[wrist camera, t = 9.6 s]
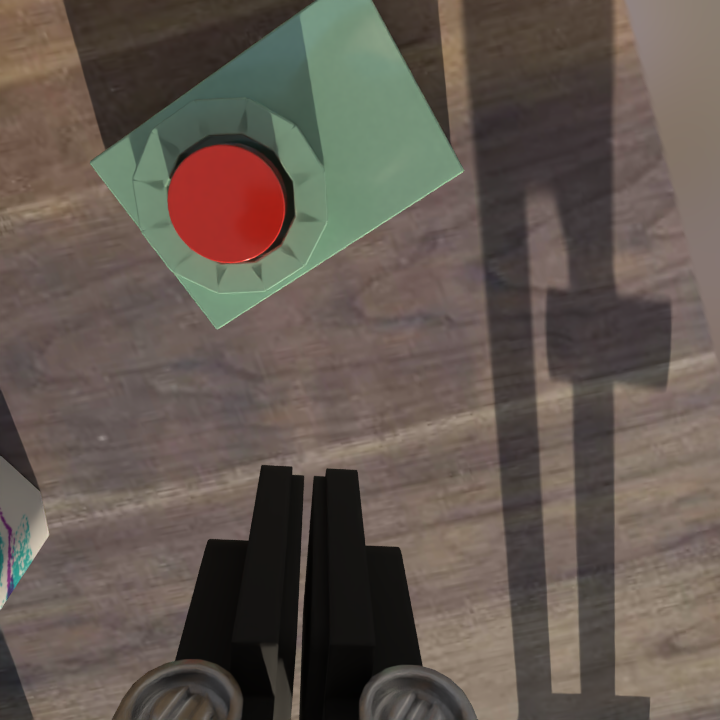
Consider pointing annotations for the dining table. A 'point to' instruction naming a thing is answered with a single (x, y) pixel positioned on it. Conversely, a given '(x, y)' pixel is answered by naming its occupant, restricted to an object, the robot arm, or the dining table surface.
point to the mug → (18, 527)
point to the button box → (292, 148)
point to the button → (227, 202)
